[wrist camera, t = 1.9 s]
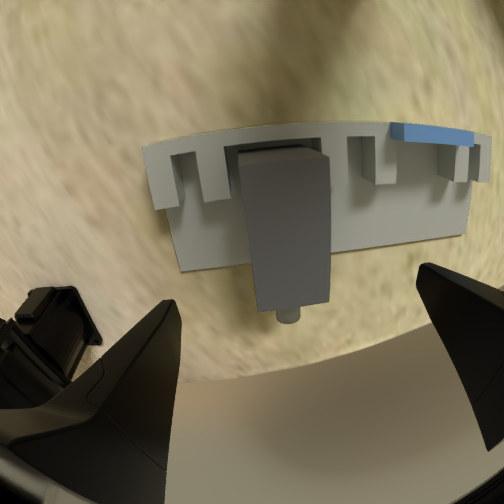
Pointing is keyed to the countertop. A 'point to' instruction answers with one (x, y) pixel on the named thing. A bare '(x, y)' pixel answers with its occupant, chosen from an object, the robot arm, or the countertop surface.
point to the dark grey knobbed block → (287, 226)
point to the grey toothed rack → (341, 177)
